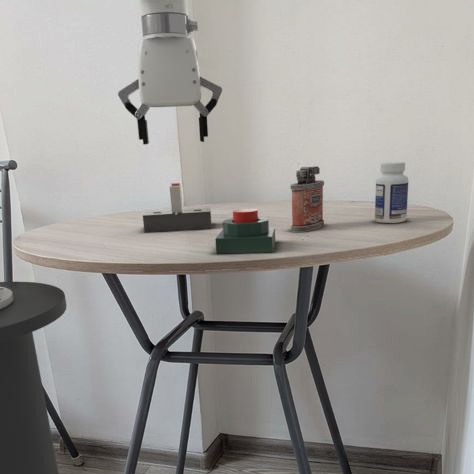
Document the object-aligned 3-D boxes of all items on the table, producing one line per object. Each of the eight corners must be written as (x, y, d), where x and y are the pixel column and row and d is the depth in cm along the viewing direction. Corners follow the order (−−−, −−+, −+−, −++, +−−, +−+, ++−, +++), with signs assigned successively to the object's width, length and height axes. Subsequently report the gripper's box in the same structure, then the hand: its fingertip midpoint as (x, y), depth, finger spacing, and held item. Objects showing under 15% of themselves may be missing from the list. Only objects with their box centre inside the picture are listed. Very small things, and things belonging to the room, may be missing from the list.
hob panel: (211, 229, 103) (210, 211, 102) (143, 233, 103) (141, 215, 101) (211, 222, 111) (210, 205, 110) (148, 226, 111) (146, 209, 110)
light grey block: (181, 212, 104) (179, 184, 102) (171, 212, 104) (169, 185, 102) (182, 209, 108) (180, 182, 106) (173, 209, 108) (170, 183, 106)
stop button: (232, 225, 83) (231, 212, 82) (234, 221, 86) (234, 209, 86) (257, 224, 83) (256, 211, 82) (259, 220, 86) (258, 208, 85)
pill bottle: (409, 219, 103) (412, 161, 99) (403, 223, 98) (406, 163, 95) (378, 218, 105) (380, 162, 102) (371, 223, 101) (373, 164, 97)
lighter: (304, 232, 95) (303, 168, 92) (286, 231, 97) (285, 168, 94) (328, 224, 101) (328, 164, 98) (311, 223, 103) (311, 164, 100)
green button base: (216, 254, 83) (214, 225, 81) (223, 243, 90) (222, 217, 89) (272, 252, 82) (271, 223, 80) (275, 241, 89) (274, 215, 88)
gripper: (218, 32, 98) (223, 140, 104) (115, 36, 97) (126, 145, 103) (219, 24, 91) (225, 140, 97) (108, 28, 90) (120, 145, 96)
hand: (174, 143), depth 100 cm, fingers open, 9 cm apart
